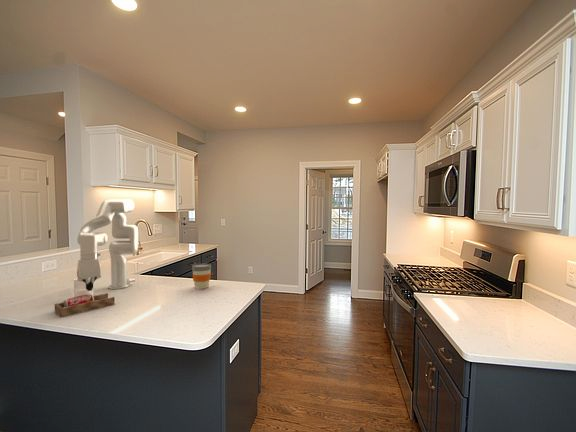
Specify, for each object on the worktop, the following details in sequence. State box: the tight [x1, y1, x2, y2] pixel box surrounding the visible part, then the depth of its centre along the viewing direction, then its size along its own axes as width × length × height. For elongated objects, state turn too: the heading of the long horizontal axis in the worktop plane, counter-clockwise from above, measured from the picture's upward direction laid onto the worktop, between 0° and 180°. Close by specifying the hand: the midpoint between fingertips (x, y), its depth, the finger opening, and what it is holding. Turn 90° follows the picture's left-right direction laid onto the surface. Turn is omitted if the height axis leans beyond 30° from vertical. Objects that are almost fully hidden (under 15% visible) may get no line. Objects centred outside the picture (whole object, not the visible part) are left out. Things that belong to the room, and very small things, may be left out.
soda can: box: [63, 294, 94, 307], centre depth 148 cm, size 7×7×12 cm
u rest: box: [54, 292, 116, 318], centre depth 150 cm, size 24×12×4 cm, turn 140°
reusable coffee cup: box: [191, 263, 212, 290], centre depth 190 cm, size 13×13×15 cm
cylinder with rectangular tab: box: [73, 278, 94, 297], centre depth 166 cm, size 9×9×12 cm
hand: (89, 290), depth 152 cm, fingers closed
